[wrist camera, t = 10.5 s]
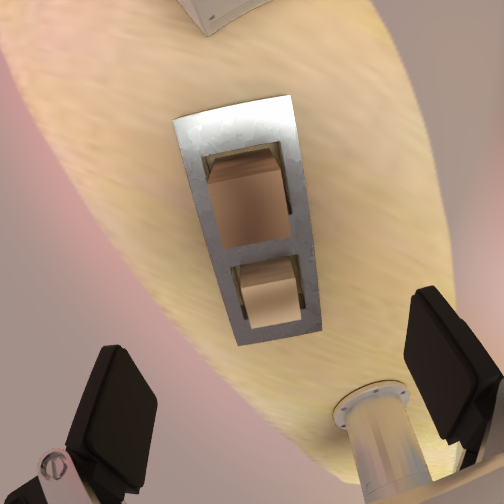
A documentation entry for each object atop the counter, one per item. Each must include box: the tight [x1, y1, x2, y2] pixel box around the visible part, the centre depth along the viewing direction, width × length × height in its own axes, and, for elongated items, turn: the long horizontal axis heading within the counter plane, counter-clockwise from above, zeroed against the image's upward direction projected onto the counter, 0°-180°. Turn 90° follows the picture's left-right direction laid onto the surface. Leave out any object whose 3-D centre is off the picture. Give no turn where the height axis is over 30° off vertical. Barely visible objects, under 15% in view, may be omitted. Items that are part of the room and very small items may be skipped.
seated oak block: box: [240, 256, 301, 329], centre depth 30 cm, size 5×5×5 cm
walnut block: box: [207, 148, 291, 249], centre depth 24 cm, size 5×5×8 cm
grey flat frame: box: [173, 95, 322, 346], centre depth 29 cm, size 23×9×2 cm, turn 11°
